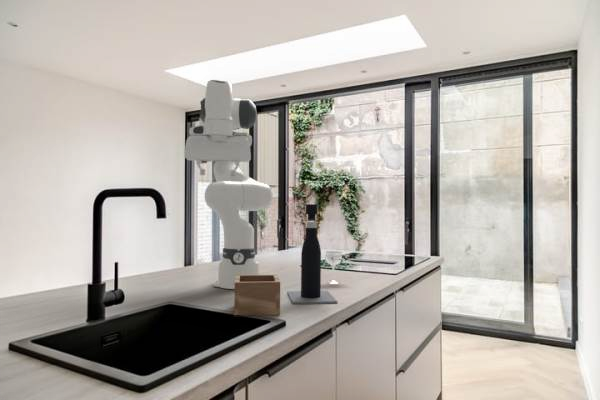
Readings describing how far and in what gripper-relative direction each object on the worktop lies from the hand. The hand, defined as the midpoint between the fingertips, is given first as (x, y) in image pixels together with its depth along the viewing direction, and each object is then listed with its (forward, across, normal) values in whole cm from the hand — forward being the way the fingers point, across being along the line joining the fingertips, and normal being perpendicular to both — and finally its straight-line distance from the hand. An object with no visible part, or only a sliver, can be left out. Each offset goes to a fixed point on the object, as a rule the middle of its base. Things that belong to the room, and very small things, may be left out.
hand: (217, 175), depth 128 cm
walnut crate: (+39, -12, +11) cm, 43 cm away
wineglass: (+39, -44, -29) cm, 66 cm away
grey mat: (+39, -30, -3) cm, 50 cm away
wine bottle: (+39, -30, -2) cm, 49 cm away
